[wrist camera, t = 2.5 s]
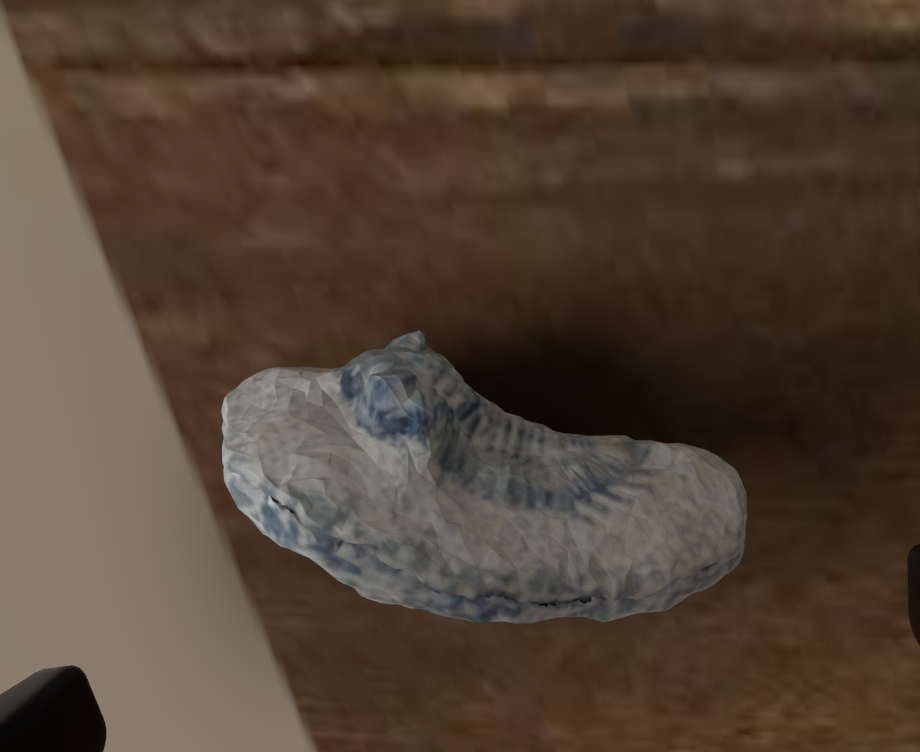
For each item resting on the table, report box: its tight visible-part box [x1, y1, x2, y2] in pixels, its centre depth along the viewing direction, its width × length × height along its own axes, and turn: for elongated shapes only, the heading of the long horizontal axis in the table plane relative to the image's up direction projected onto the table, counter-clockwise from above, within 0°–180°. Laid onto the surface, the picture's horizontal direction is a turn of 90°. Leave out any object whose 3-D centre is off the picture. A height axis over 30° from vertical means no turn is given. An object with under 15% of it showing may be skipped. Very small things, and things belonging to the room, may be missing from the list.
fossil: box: [221, 331, 747, 624], centre depth 12 cm, size 8×4×5 cm, turn 78°
